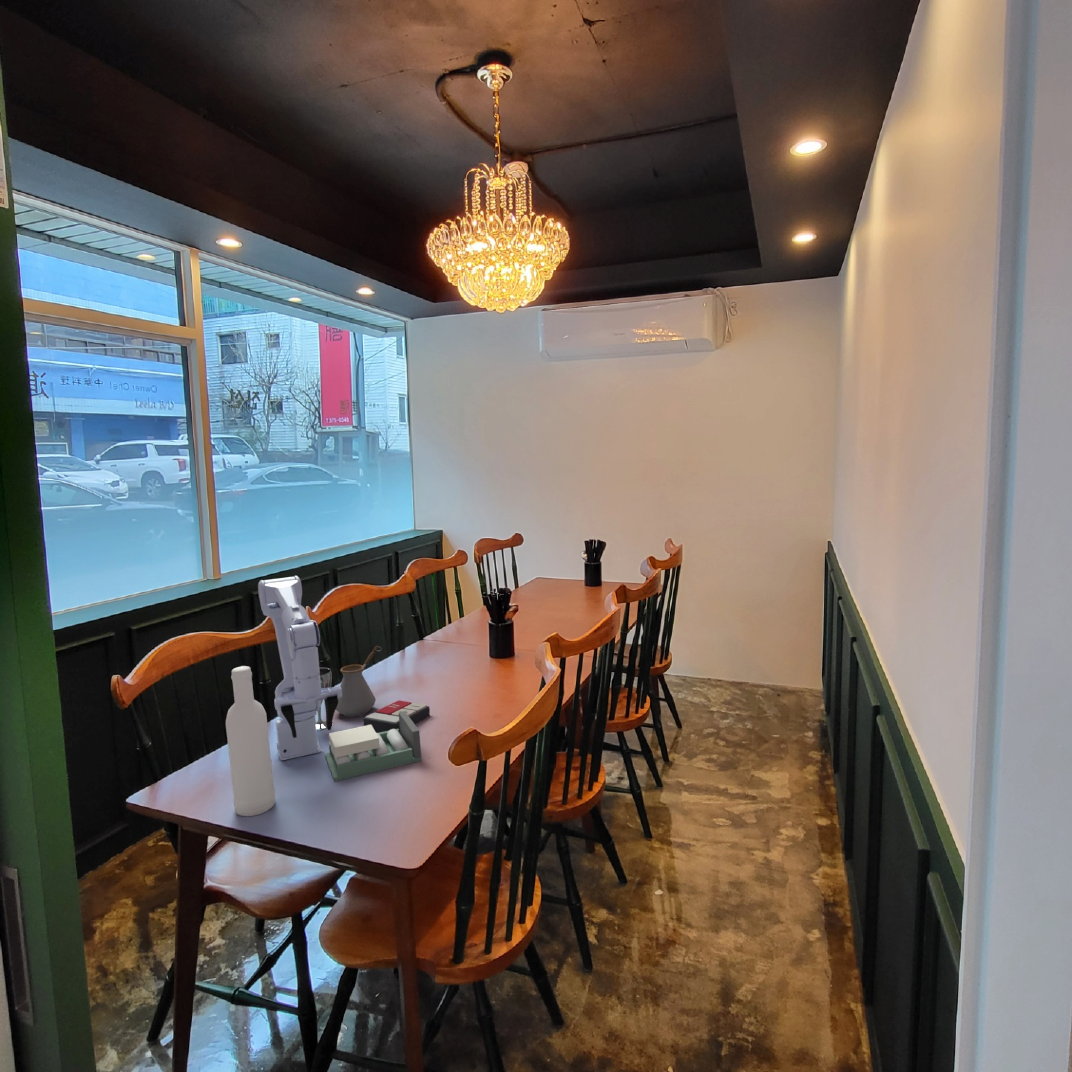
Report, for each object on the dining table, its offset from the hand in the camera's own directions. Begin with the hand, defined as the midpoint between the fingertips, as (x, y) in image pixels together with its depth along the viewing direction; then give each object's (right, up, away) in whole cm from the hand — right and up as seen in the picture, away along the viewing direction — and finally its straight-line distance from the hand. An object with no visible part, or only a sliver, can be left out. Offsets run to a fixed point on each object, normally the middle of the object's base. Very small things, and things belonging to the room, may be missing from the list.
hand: (311, 732), depth 155 cm
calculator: (+14, -6, +28) cm, 32 cm away
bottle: (-7, -12, -14) cm, 19 cm away
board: (+9, -4, +4) cm, 10 cm away
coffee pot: (+2, -4, +42) cm, 42 cm away
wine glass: (-7, -7, +28) cm, 30 cm away
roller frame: (+12, -8, +6) cm, 16 cm away
